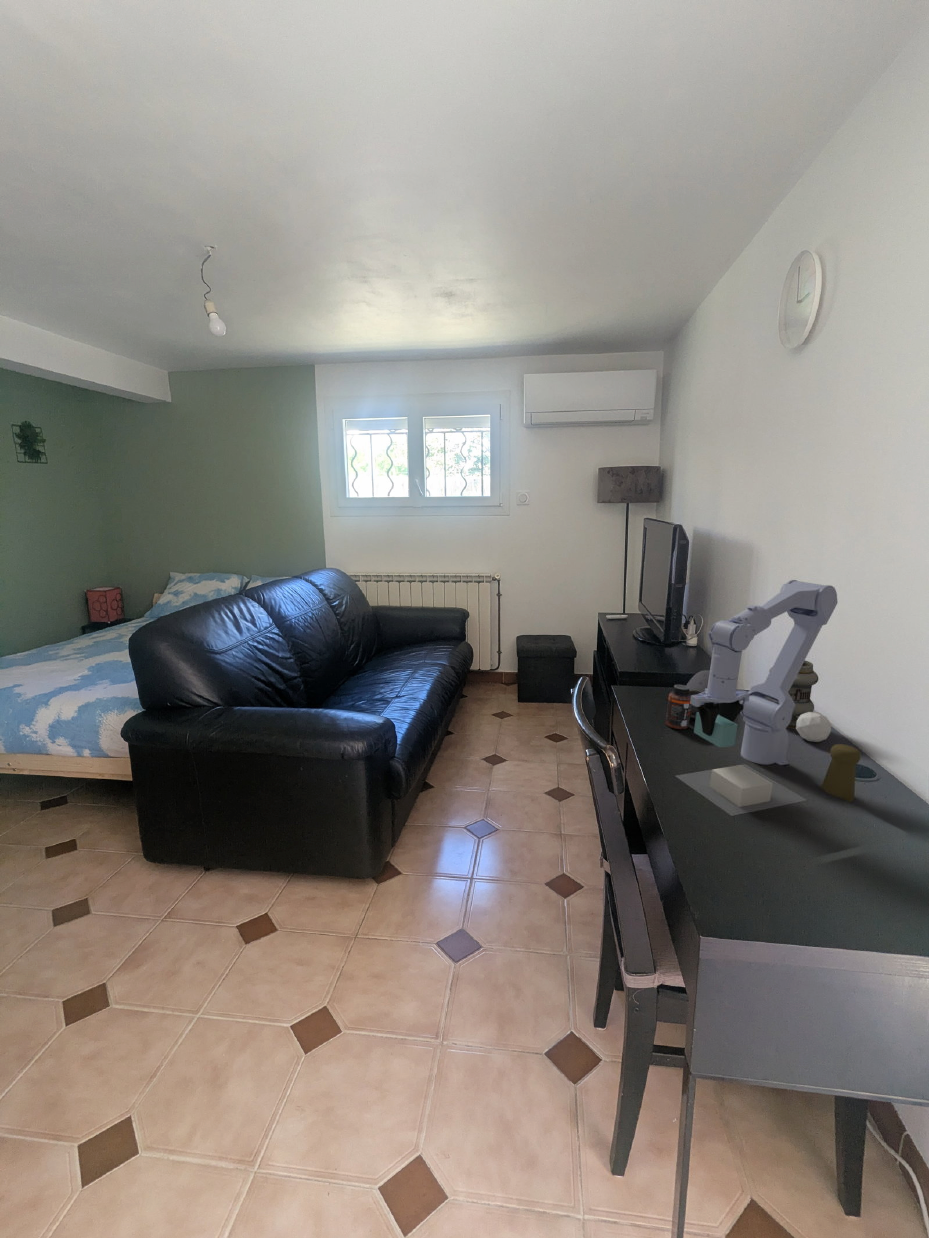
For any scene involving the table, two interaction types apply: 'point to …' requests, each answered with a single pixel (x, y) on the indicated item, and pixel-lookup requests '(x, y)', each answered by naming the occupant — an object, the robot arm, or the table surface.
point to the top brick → (718, 731)
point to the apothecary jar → (802, 692)
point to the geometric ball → (813, 726)
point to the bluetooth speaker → (698, 687)
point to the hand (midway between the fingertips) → (715, 732)
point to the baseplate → (702, 786)
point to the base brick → (741, 785)
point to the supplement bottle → (679, 707)
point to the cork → (842, 772)
